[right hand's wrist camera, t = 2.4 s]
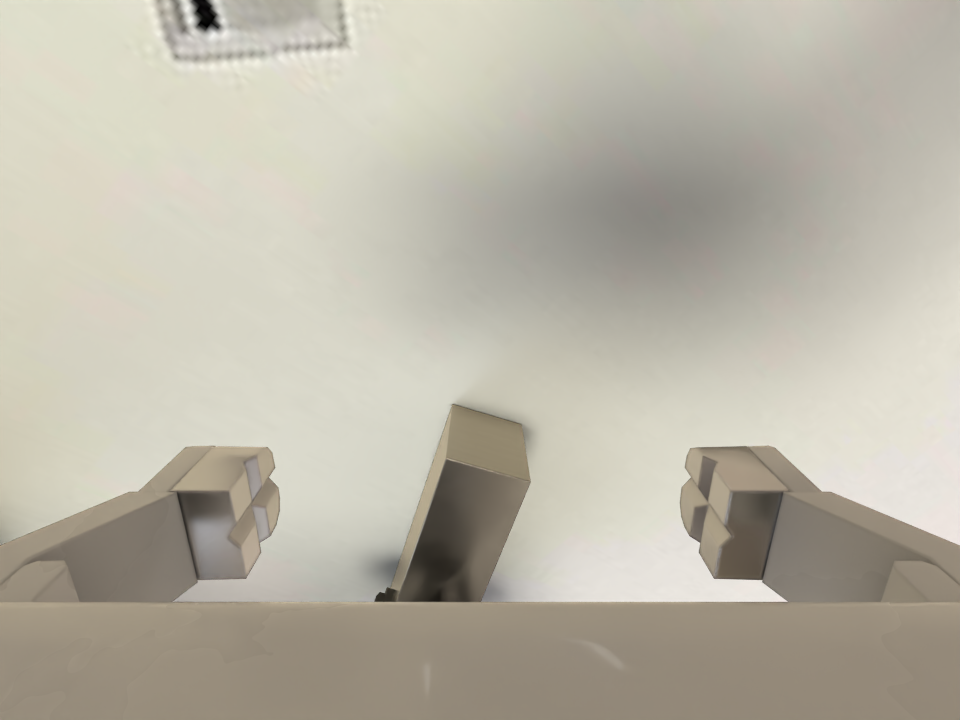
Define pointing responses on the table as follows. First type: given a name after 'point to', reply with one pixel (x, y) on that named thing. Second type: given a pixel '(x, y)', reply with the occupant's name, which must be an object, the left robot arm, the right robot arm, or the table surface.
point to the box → (464, 510)
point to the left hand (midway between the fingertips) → (426, 605)
